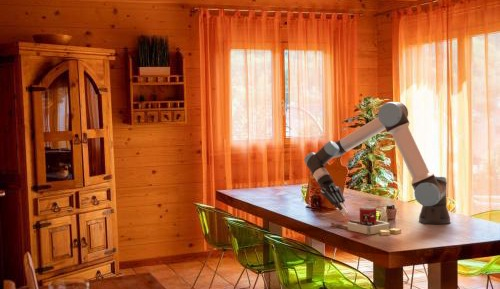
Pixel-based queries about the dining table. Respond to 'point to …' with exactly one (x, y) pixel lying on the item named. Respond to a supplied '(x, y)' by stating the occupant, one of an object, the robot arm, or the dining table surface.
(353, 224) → the tray
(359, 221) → the slot rails
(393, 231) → the chip
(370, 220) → the canned food
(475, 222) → the dining table surface
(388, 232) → the chip
